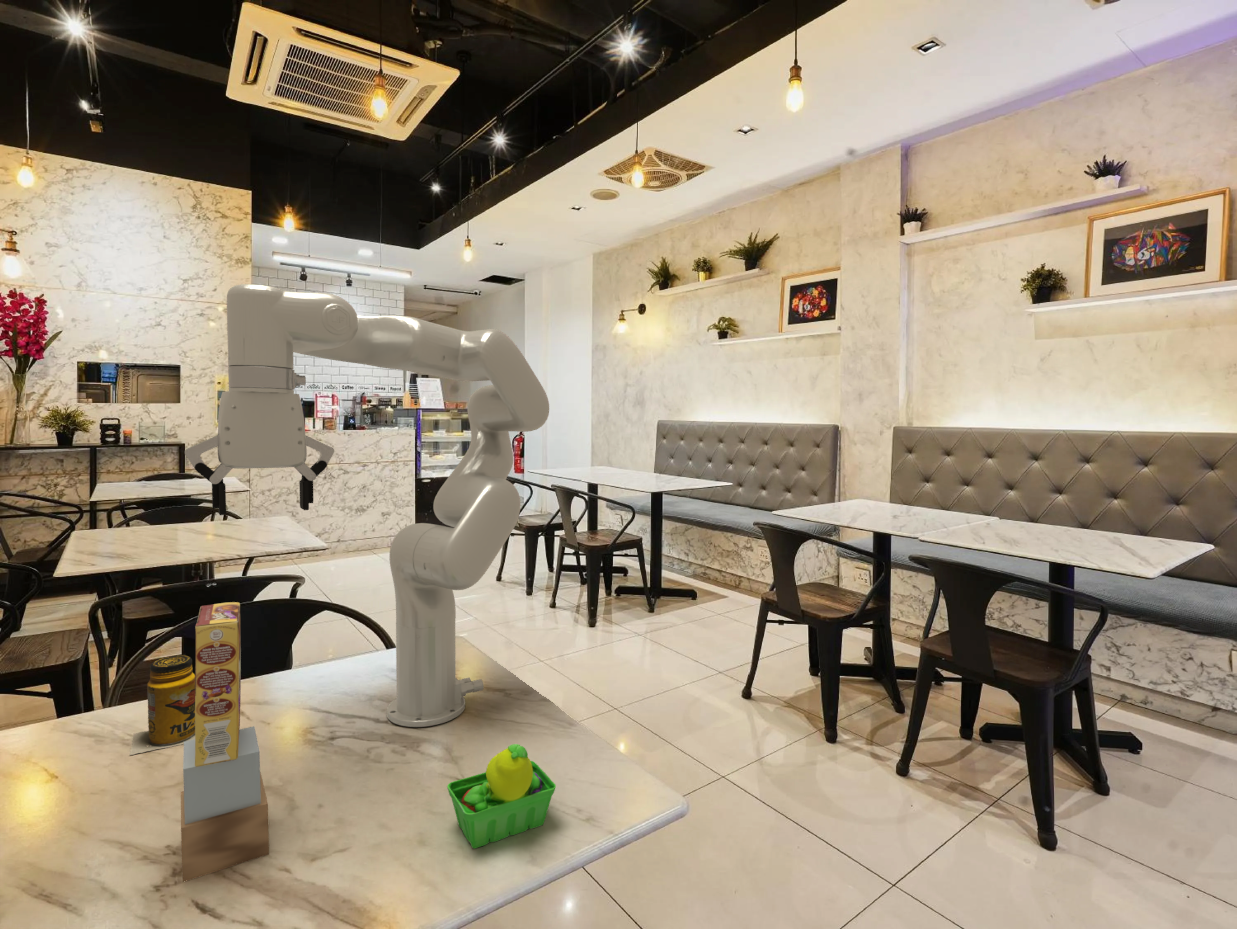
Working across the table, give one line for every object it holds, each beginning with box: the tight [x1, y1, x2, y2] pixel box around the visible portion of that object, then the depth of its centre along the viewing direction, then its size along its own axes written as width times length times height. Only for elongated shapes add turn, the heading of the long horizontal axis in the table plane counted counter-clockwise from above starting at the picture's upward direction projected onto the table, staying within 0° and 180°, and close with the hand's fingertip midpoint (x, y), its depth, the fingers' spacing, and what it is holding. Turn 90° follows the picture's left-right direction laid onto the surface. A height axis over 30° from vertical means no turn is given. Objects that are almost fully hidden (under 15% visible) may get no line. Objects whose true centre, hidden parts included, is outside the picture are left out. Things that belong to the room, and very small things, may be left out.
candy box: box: [194, 601, 242, 767], centre depth 72 cm, size 9×4×15 cm, turn 29°
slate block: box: [182, 725, 261, 824], centre depth 72 cm, size 7×7×6 cm
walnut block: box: [180, 771, 270, 883], centre depth 73 cm, size 8×8×6 cm
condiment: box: [129, 654, 195, 756], centre depth 97 cm, size 7×8×12 cm
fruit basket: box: [446, 743, 557, 849], centre depth 76 cm, size 11×9×11 cm
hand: (264, 511), depth 85 cm, fingers open, 9 cm apart
